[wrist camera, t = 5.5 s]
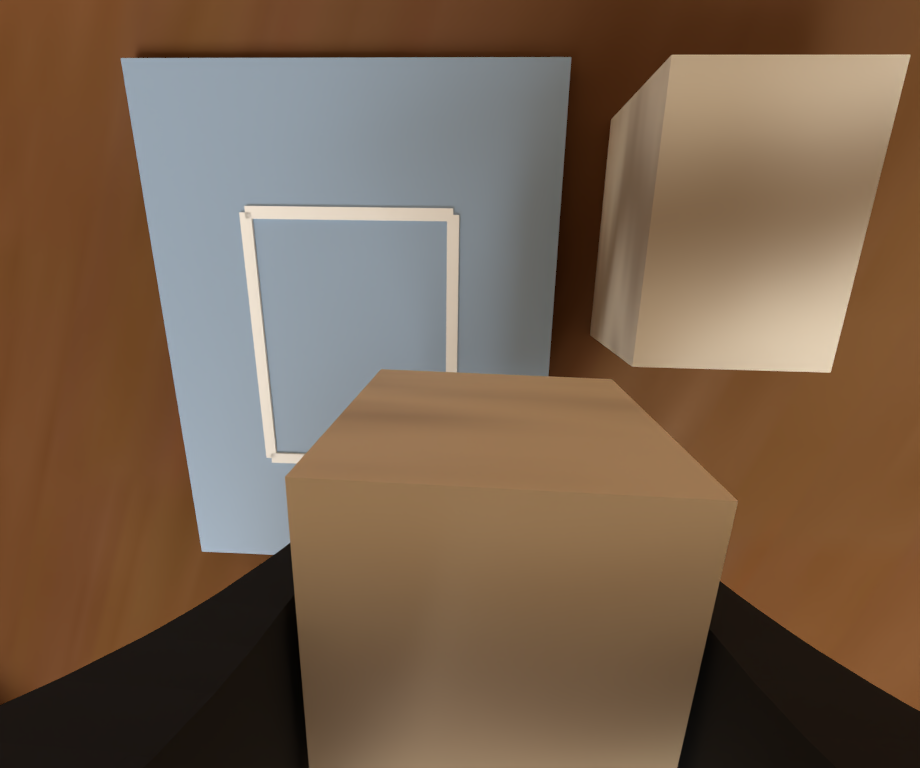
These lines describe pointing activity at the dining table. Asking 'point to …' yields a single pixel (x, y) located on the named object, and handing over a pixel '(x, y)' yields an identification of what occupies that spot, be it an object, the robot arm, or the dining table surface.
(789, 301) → the birch brick
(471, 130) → the board
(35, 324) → the dining table surface
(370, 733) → the maple brick
